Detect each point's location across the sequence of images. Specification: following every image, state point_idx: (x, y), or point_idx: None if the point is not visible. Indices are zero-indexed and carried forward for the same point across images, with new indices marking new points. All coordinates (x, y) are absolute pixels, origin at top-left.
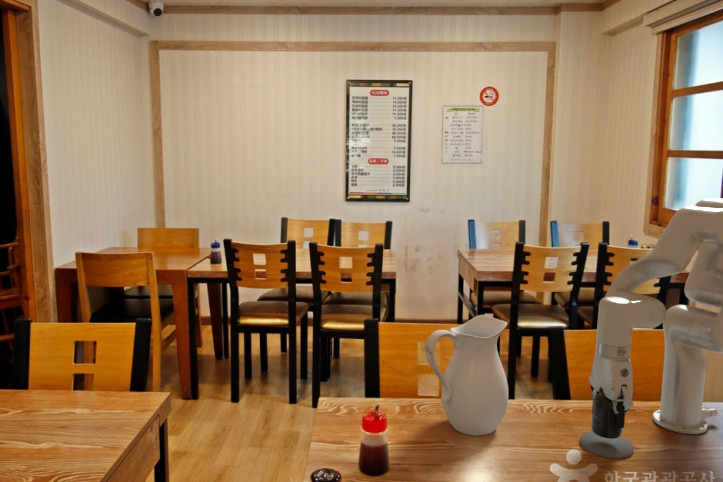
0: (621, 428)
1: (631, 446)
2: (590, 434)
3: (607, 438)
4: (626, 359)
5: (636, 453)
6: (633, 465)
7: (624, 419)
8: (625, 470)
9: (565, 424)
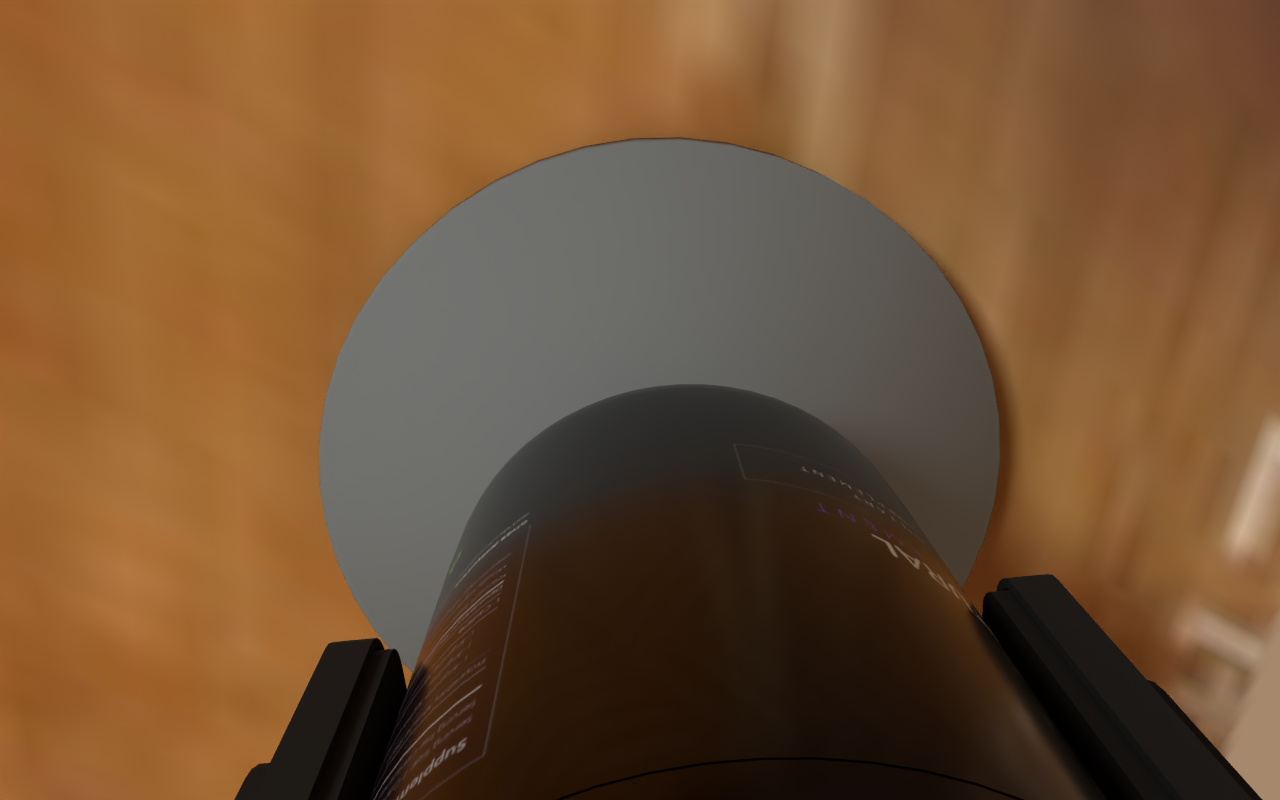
0: (910, 517)
1: (806, 197)
2: (421, 583)
3: (546, 419)
4: None
5: (904, 174)
6: (1152, 380)
7: (1140, 677)
8: (1213, 523)
9: (63, 698)
